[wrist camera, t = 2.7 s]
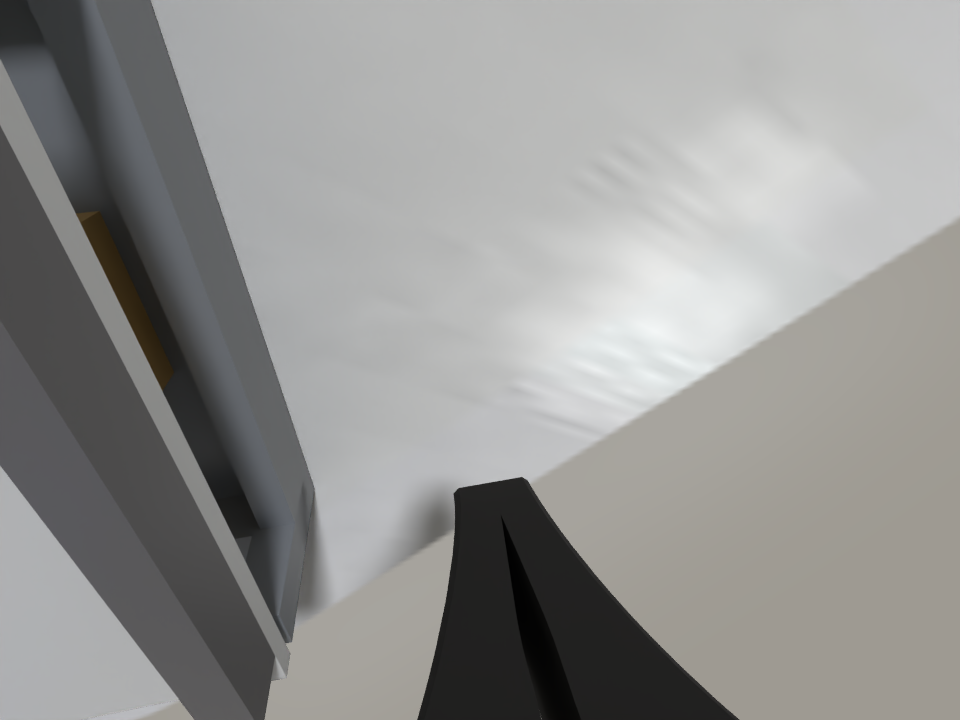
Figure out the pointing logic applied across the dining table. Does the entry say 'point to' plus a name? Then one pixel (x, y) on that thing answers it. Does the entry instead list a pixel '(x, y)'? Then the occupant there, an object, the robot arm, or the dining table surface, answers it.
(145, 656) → the lid
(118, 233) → the case
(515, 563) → the robot arm
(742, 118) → the dining table surface
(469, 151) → the dining table surface
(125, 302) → the block
